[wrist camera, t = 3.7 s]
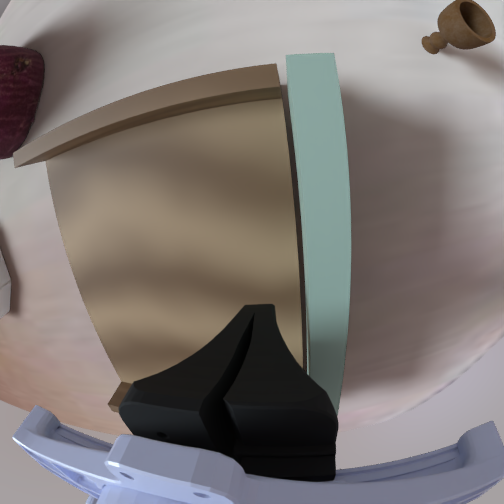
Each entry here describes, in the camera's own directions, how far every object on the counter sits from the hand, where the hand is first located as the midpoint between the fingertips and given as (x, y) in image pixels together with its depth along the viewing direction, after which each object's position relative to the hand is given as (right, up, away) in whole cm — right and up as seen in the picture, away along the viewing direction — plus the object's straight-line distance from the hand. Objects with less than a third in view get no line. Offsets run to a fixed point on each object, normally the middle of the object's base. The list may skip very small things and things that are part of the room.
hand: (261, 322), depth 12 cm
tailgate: (+2, +2, +3) cm, 4 cm away
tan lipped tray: (-6, +1, +6) cm, 8 cm away
